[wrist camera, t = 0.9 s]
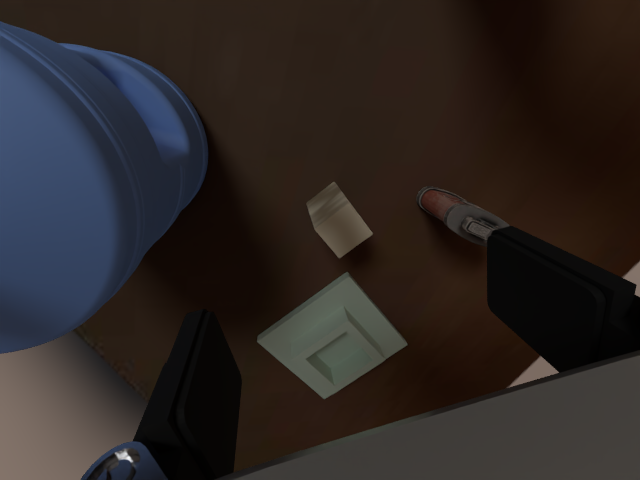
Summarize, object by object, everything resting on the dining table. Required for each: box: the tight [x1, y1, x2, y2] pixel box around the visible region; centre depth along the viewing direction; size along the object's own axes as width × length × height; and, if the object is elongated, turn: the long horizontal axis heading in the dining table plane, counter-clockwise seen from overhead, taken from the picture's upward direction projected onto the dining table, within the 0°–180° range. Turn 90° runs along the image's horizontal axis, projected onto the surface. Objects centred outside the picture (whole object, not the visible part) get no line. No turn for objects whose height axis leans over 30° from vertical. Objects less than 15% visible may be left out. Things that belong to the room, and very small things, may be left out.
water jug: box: [0, 21, 208, 354], centre depth 19 cm, size 16×16×28 cm
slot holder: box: [257, 272, 408, 399], centre depth 43 cm, size 15×15×4 cm
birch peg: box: [306, 182, 373, 258], centre depth 33 cm, size 4×4×8 cm
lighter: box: [416, 186, 509, 247], centre depth 34 cm, size 8×3×10 cm, turn 65°
